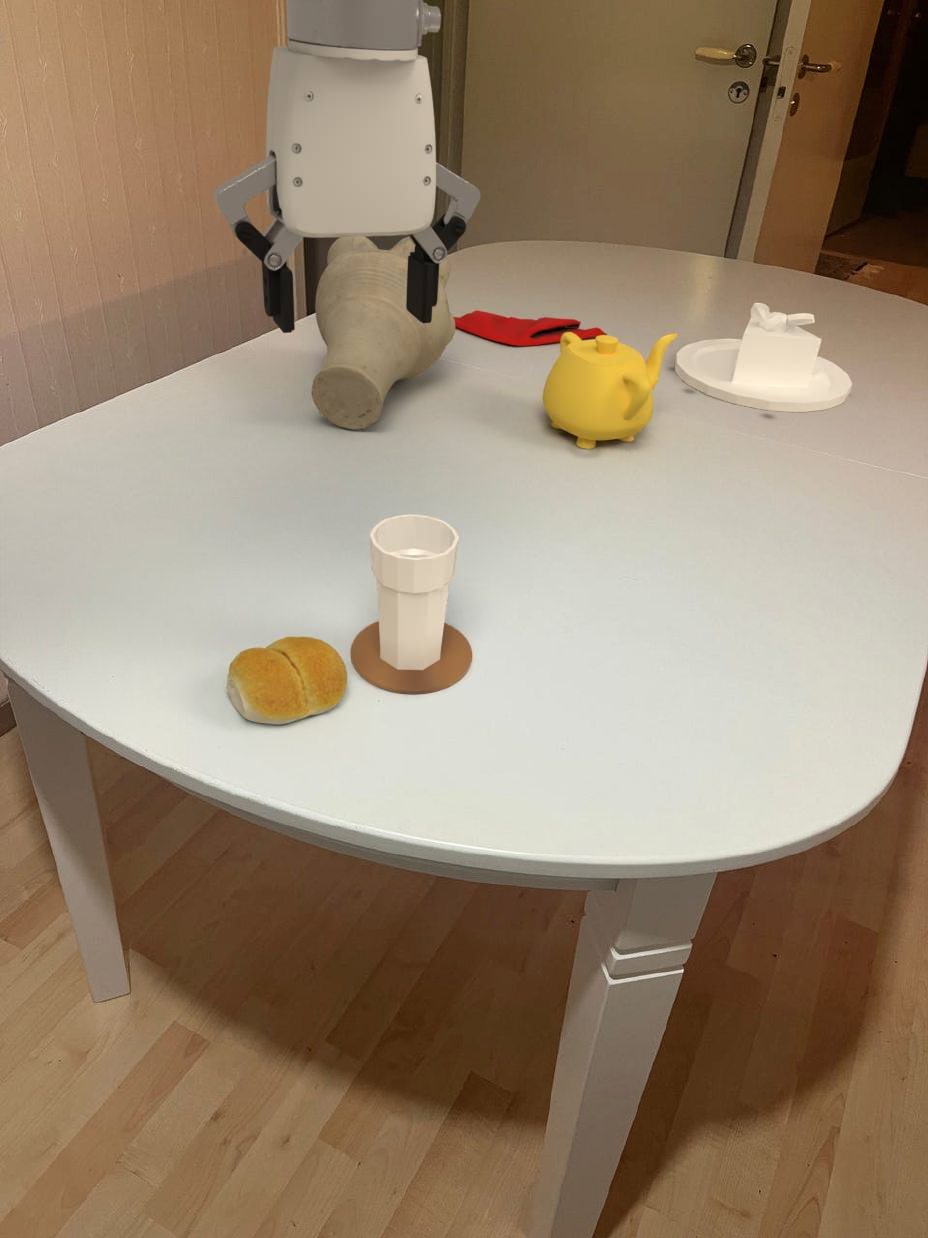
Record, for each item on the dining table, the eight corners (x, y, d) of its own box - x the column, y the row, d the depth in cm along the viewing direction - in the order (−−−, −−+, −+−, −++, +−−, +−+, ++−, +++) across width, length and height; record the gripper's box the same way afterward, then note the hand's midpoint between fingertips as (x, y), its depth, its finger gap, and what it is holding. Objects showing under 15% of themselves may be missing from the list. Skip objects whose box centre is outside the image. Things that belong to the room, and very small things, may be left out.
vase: (430, 359, 96) (483, 229, 113) (229, 301, 95) (313, 180, 113) (404, 506, 112) (453, 373, 130) (232, 457, 112) (305, 331, 130)
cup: (356, 663, 74) (355, 547, 68) (389, 619, 79) (391, 507, 73) (433, 685, 73) (439, 568, 66) (461, 639, 78) (470, 526, 71)
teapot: (647, 465, 108) (666, 368, 101) (528, 443, 111) (539, 347, 104) (660, 420, 119) (679, 329, 112) (552, 401, 122) (563, 311, 115)
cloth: (425, 332, 141) (426, 317, 139) (453, 307, 151) (454, 293, 150) (593, 360, 135) (595, 345, 134) (609, 332, 146) (612, 318, 145)
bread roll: (364, 704, 71) (364, 663, 69) (254, 742, 67) (250, 700, 65) (318, 645, 77) (317, 606, 74) (213, 677, 72) (208, 637, 70)
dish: (875, 416, 125) (903, 334, 118) (691, 405, 124) (710, 321, 117) (818, 352, 145) (840, 278, 138) (660, 342, 144) (674, 267, 137)
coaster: (375, 706, 71) (375, 702, 71) (334, 632, 78) (334, 629, 78) (492, 677, 75) (492, 674, 74) (442, 610, 82) (442, 606, 82)
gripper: (464, 26, 59) (447, 298, 69) (187, 10, 53) (213, 312, 63) (516, 38, 54) (490, 331, 64) (214, 21, 47) (238, 350, 57)
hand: (352, 321), depth 63 cm, fingers open, 9 cm apart
